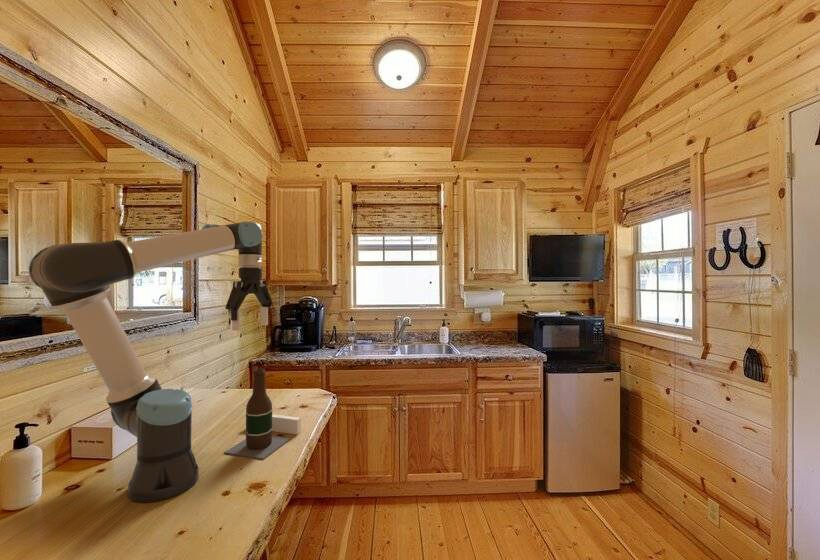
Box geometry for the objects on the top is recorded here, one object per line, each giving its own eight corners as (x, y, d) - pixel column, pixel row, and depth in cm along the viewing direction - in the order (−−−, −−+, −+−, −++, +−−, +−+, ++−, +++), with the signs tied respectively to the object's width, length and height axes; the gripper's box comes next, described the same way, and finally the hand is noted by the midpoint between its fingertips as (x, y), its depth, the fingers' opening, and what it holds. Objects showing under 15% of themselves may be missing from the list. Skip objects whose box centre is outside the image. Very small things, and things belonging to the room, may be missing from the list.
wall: (297, 434, 124) (297, 419, 124) (248, 427, 129) (248, 413, 129) (300, 432, 126) (300, 417, 126) (251, 425, 131) (251, 412, 131)
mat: (263, 459, 107) (263, 458, 107) (224, 453, 110) (224, 452, 110) (290, 439, 120) (290, 438, 120) (254, 434, 124) (254, 433, 124)
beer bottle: (240, 447, 114) (240, 371, 114) (261, 437, 120) (261, 365, 120) (256, 452, 110) (257, 374, 110) (277, 442, 117) (277, 368, 117)
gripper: (231, 266, 114) (232, 333, 114) (282, 267, 137) (282, 323, 138) (212, 266, 116) (213, 332, 116) (265, 267, 140) (266, 322, 140)
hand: (251, 327), depth 127 cm, fingers open, 13 cm apart
